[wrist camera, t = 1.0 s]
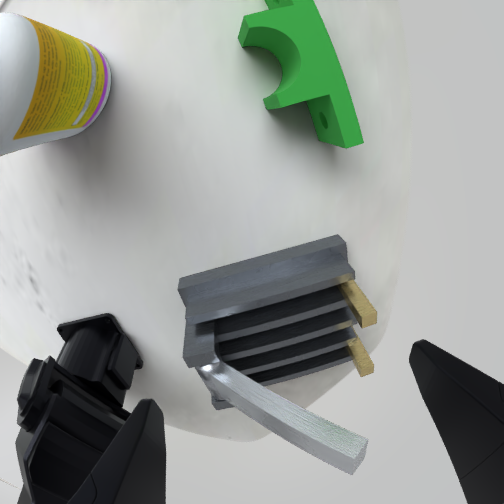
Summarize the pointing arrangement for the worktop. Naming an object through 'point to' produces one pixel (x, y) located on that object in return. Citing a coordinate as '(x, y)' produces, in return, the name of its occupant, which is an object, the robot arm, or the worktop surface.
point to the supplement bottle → (46, 83)
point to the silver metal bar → (285, 417)
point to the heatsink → (278, 314)
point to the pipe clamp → (305, 67)
